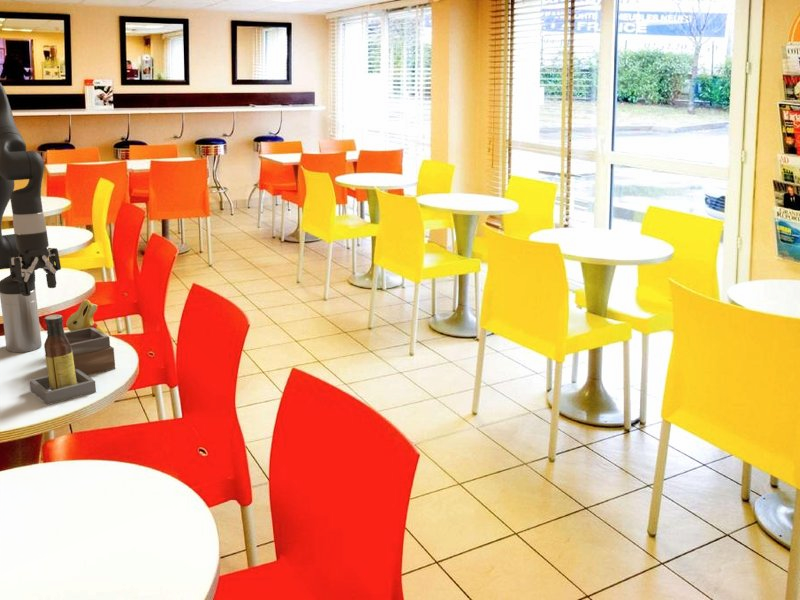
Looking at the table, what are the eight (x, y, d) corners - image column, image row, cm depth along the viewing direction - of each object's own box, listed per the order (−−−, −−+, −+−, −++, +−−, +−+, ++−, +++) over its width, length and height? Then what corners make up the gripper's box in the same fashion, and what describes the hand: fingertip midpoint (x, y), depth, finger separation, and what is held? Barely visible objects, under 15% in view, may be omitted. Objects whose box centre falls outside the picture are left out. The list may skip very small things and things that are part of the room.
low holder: (30, 391, 194) (29, 380, 193) (78, 379, 202) (77, 368, 201) (47, 404, 186) (46, 393, 185) (96, 392, 194) (95, 381, 193)
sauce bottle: (82, 387, 196) (74, 313, 191) (69, 397, 191) (61, 321, 185) (57, 385, 197) (49, 312, 191) (44, 395, 191) (35, 319, 185)
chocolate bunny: (70, 347, 224) (65, 298, 220) (110, 345, 227) (105, 296, 223) (66, 355, 218) (61, 304, 214) (107, 353, 221) (103, 303, 216)
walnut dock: (48, 366, 209) (44, 335, 207) (95, 355, 218) (92, 325, 216) (67, 380, 201) (63, 348, 198) (115, 368, 209) (112, 337, 207)
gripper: (40, 225, 205) (49, 284, 209) (-4, 234, 192) (6, 297, 196) (62, 226, 202) (70, 286, 206) (19, 235, 189) (28, 299, 193)
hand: (39, 291), depth 201 cm, fingers open, 8 cm apart
